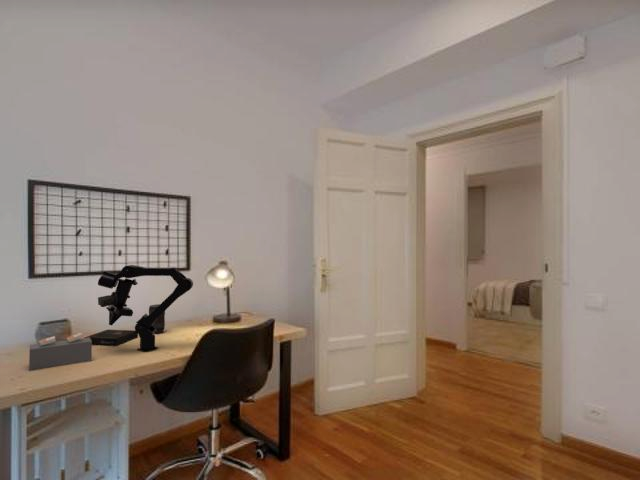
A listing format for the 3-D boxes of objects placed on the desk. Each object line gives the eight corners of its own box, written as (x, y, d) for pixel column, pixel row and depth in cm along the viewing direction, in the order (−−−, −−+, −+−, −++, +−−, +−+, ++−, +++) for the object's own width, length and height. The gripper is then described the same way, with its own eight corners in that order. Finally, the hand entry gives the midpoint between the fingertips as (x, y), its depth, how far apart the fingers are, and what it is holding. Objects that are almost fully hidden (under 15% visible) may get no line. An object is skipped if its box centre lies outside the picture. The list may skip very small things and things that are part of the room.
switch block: (89, 356, 155) (89, 337, 155) (91, 360, 148) (91, 341, 148) (29, 365, 142) (29, 344, 142) (29, 370, 136) (29, 349, 136)
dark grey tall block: (146, 332, 196) (146, 305, 197) (161, 330, 202) (161, 303, 202) (151, 335, 191) (152, 307, 191) (167, 333, 196) (167, 305, 197)
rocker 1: (55, 338, 146) (54, 335, 146) (55, 340, 143) (55, 337, 142) (40, 343, 143) (39, 340, 143) (40, 345, 140) (39, 342, 139)
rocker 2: (82, 335, 151) (80, 332, 151) (82, 337, 148) (81, 334, 148) (68, 340, 148) (67, 337, 148) (68, 342, 145) (67, 339, 145)
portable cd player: (138, 338, 187) (138, 330, 187) (116, 347, 170) (116, 338, 170) (108, 336, 189) (108, 329, 189) (83, 345, 172) (84, 337, 172)
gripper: (95, 283, 162) (82, 317, 161) (113, 295, 151) (100, 331, 150) (119, 287, 171) (108, 318, 170) (138, 298, 160) (126, 332, 159)
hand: (110, 325), depth 162 cm, fingers closed
